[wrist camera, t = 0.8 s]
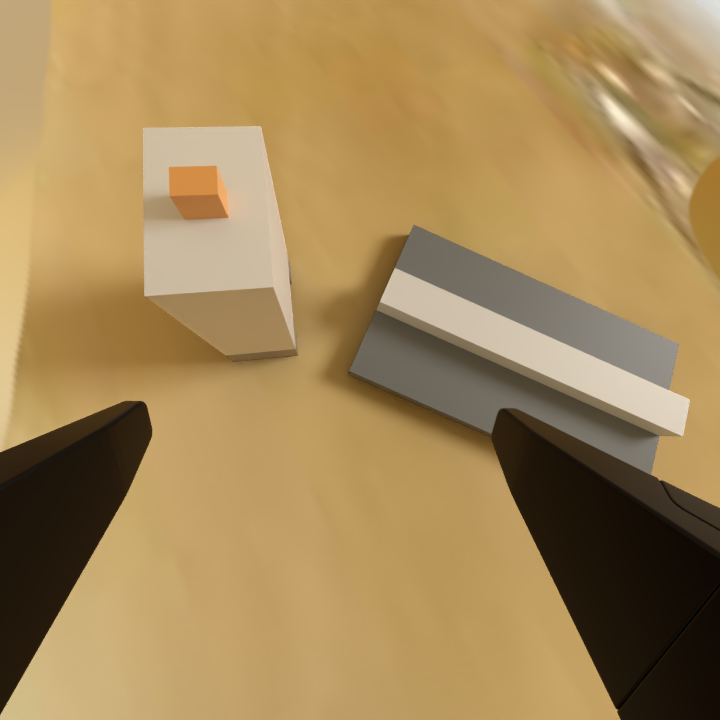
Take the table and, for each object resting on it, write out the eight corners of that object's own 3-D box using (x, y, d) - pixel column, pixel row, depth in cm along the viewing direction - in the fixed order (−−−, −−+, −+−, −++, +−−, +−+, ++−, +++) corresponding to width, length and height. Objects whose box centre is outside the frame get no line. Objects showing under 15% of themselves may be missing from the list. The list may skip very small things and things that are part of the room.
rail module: (297, 355, 22) (267, 271, 10) (233, 361, 22) (122, 280, 10) (290, 265, 23) (254, 95, 11) (228, 269, 23) (123, 95, 11)
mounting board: (662, 347, 25) (702, 338, 22) (628, 497, 23) (668, 506, 20) (409, 234, 25) (419, 211, 22) (347, 373, 22) (351, 366, 20)
